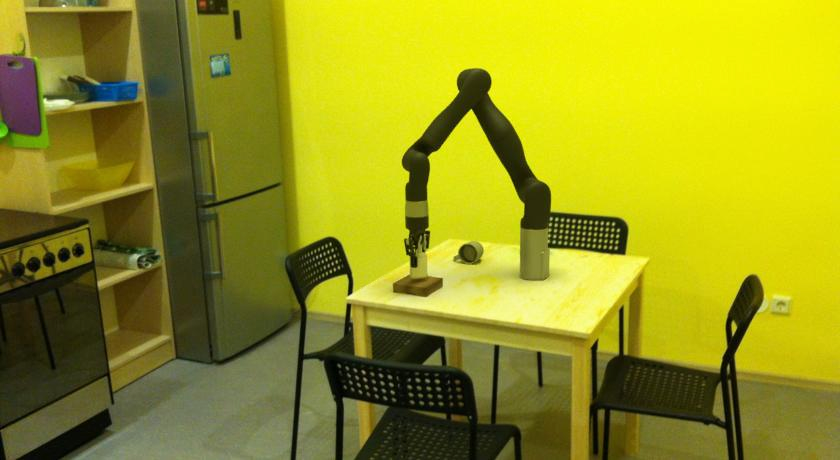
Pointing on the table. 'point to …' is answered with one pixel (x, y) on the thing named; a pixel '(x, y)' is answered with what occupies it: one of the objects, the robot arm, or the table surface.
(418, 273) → the squeeze bottle
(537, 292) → the table surface
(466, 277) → the table surface
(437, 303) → the table surface
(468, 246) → the ceramic mug
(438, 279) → the walnut plinth
